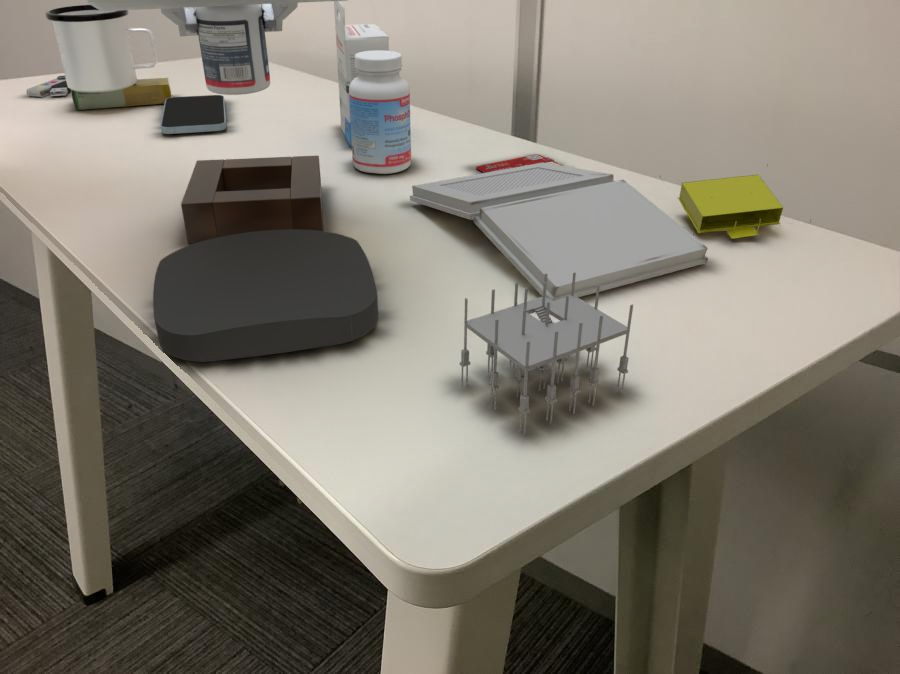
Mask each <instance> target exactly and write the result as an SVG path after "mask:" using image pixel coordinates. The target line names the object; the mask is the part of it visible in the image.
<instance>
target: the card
mask: <svg viewBox="0 0 900 674" xmlns="http://www.w3.org/2000/svg"><path fill="white" fill-rule="evenodd" d="M537 163H549V164H555V165H561V166H564V165H563V164H561V163H559V162H556V161H555V159H553V158H550V157H548V156H547V157H545V156H543V155H541V154H537V153H536V154H531V155H527V156H520V157H516V158H510V159H505V160H501V161H496V162H491V163H486V164H480V165H477V166H475V169H476V170H478V171H480V172H482V173H487V172H493V171H498V170H504V169H509V168H515V167H521V166H526V165H532V164H537Z"/></svg>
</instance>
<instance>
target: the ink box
mask: <svg viewBox="0 0 900 674" xmlns="http://www.w3.org/2000/svg"><path fill="white" fill-rule="evenodd" d="M333 9H334V10H333V11H334V29H335V45H336V46H335V47H336V65H337V81H338V94H339V95H338V97H339V98H338V99H339V113H340V115H339V116H340V128H341V131H342V134H343V135H344V138H345V140H346V141H347V144H348V145H349V147H350V148H352V141H351V122H350V102H349V86H350V83H351V82H352V80H353V79H355V78H356V77H358V72H357V71H356V68H355V54H357V53H359V52H364V51H373V50H384V51H390V48H389V47H390V46H389V45H390V42H389V40H390V37H389V36H388V34H386V33H385V32H384V31H383V30H382V28H380V27H379V26H378V25H377V24H376V23H359V24H358V23H357V24H346V11H345V10H346V9H345V5H343V3H342V1H333Z"/></svg>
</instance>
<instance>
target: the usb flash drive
mask: <svg viewBox="0 0 900 674" xmlns="http://www.w3.org/2000/svg"><path fill="white" fill-rule="evenodd" d="M70 92H71V89H70V88H68V86H67V82H66V78H65V75H58V76H57V77H55V78H53V79H50V80H48V81H45V82H42V83H40V84H37V85H35V86H31V87H29V88H27V89H26V91H25V93H26V96H28V97H36V98H44V97H46V96H49V95H50V97H59V96H60V97H61V96H67V95H68V94H69V93H70Z"/></svg>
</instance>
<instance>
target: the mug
mask: <svg viewBox="0 0 900 674" xmlns="http://www.w3.org/2000/svg"><path fill="white" fill-rule="evenodd" d="M44 13H45V19H47V20H48V21H51V23H52V27H53V31H54V36H55V39H56V44H57V49H58V52H59V56H60V60H61V65H62V69H63V73H64V76H65V78H66V82H67V86H68V88H70V90H74V91H78V92H89V93H93V92H109V91H116V90H121V89H125V88H128V87H131V86H133V85H134V84H135V83H136V82H137V79H138V77H137V72H136V70H139V69H151V68H154V67H155V66H156V65H157V64H158V54H157V45H156V41H155V36H154V33H153V31H152V30H151V29H149V28H148V27H147V28H145V27H128V26H127V22H126V16H128V15H129V13H130V12H129V10H117V11H101V10H99V9H97V8H95V7H93V6H92V5H90V4H76V5H68V6H61V7H55V8H51V9H48V10H46V11H45V12H44ZM129 33H147V34H148V36H149V41H150V44H151V48H152V58H153V62H152V63H134V56H133V51H132V47H131V42H130V37H129Z"/></svg>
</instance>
